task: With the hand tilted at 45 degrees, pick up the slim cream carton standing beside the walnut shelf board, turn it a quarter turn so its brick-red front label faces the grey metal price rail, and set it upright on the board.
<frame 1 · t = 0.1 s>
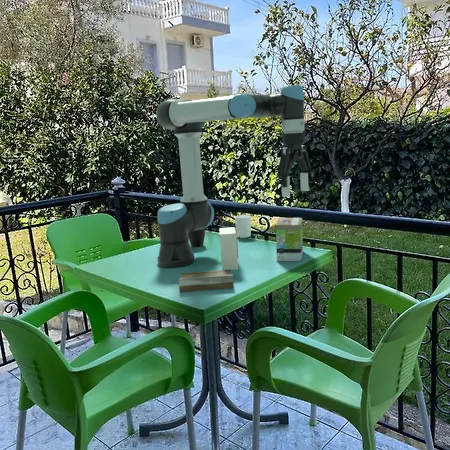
hand: (295, 193, 158), 28 cm above the table, tool pointing down, fingers open, 13 cm apart
shelf board: (206, 283, 155), on the table
mug: (197, 245, 210), on the table
white cup: (243, 236, 220), on the table
cream carton: (229, 265, 174), on the table
tea box: (290, 256, 181), on the table
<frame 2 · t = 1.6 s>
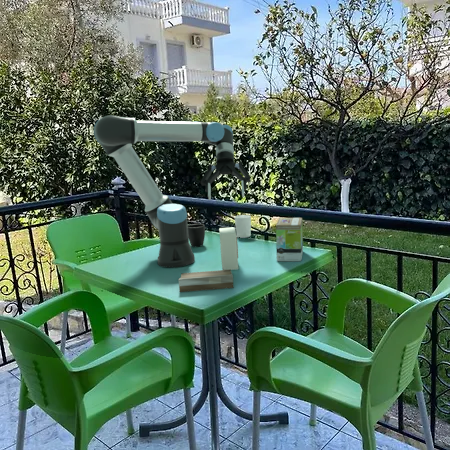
hand: (226, 196, 178), 26 cm above the table, tool tilted 45°, fingers open, 13 cm apart
nothing on the table moved.
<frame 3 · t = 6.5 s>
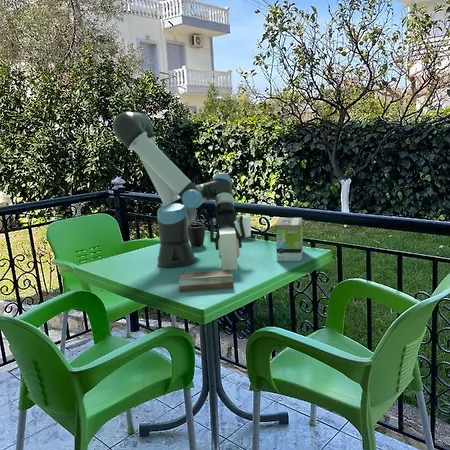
hand: (229, 255, 169), 5 cm above the table, tool tilted 45°, fingers closed on cream carton, 6 cm apart
cream carton: (229, 265, 174), on the table, touching gripper
everything else where it was.
when the fingers open (8 cm above the table, at t = 14.5 s): cream carton drops 1 cm, resting on shelf board.
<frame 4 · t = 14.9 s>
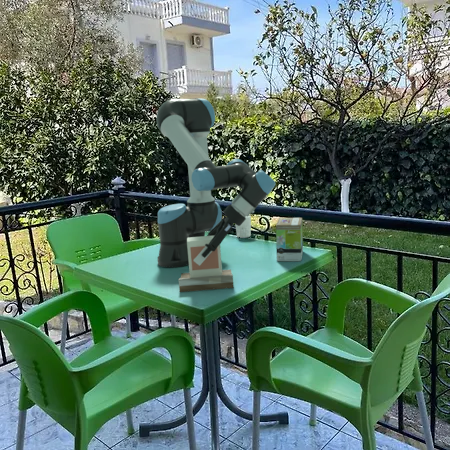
hand: (196, 257, 153), 9 cm above the table, tool tilted 45°, fingers open, 11 cm apart
cream carton: (206, 277, 155), point 2 cm above the table, touching shelf board
everything else where it was.
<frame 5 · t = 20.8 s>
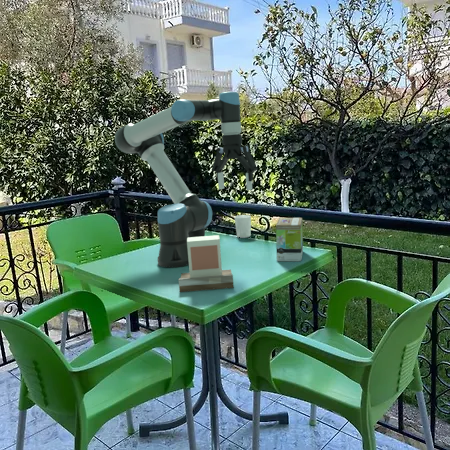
hand: (235, 189, 174), 29 cm above the table, tool pointing down, fingers open, 13 cm apart
nothing on the table moved.
at the end: cream carton inside the target area on the shelf board (0.2 cm from its centre), point 2.0 cm above the shelf board's base; cream carton tilted 0°; the gripper is holding nothing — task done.
